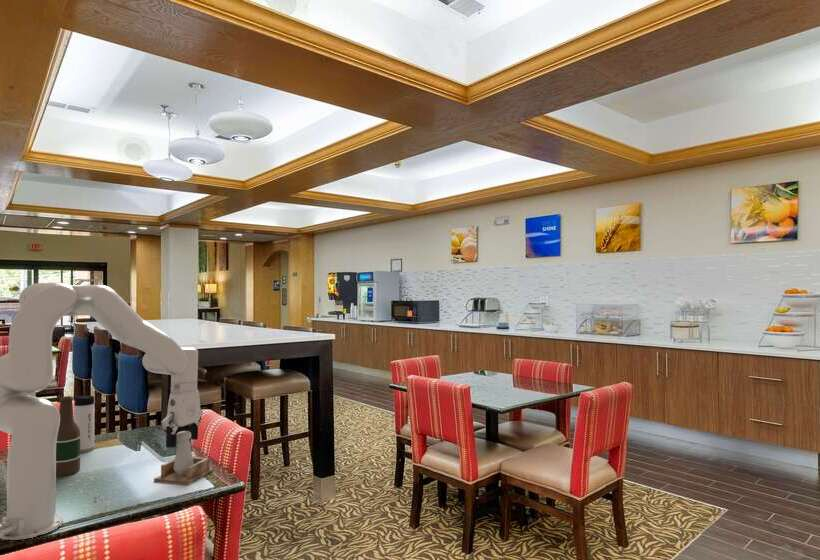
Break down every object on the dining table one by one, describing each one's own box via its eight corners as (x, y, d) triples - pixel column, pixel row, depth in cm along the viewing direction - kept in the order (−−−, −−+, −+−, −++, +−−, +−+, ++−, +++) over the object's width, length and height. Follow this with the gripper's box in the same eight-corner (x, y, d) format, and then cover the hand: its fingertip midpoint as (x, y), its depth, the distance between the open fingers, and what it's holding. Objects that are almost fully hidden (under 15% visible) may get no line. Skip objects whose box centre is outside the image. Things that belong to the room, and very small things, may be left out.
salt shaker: (169, 475, 159) (169, 432, 159) (185, 469, 164) (185, 428, 164) (181, 478, 156) (181, 435, 156) (197, 472, 161) (197, 430, 161)
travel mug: (74, 449, 188) (74, 394, 189) (95, 446, 191) (95, 392, 192) (71, 454, 183) (71, 397, 183) (92, 451, 185) (93, 395, 186)
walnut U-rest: (187, 485, 152) (187, 470, 153) (153, 481, 156) (154, 467, 156) (213, 471, 164) (213, 457, 164) (181, 468, 167) (181, 454, 167)
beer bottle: (65, 477, 159) (66, 400, 160) (44, 476, 161) (45, 399, 161) (86, 469, 167) (86, 395, 167) (65, 467, 168) (66, 394, 169)
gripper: (174, 392, 151) (172, 451, 150) (212, 383, 168) (210, 437, 167) (153, 390, 153) (151, 449, 152) (192, 382, 170) (190, 435, 169)
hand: (182, 442), depth 159 cm, fingers open, 9 cm apart
